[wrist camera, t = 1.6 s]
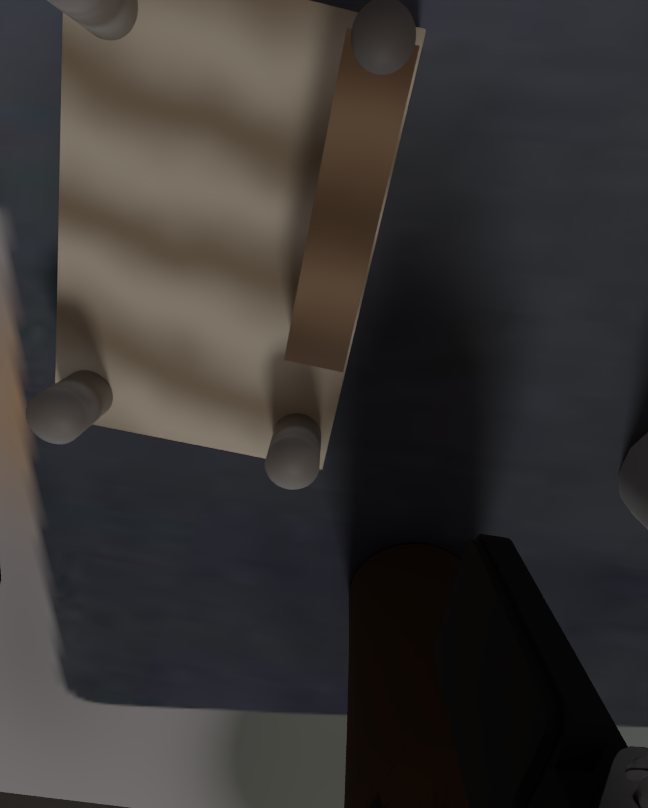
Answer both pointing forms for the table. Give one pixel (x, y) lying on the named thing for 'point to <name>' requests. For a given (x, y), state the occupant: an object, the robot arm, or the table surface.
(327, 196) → the folding leg
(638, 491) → the cup
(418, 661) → the olive oil
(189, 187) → the stool seat
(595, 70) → the table surface
